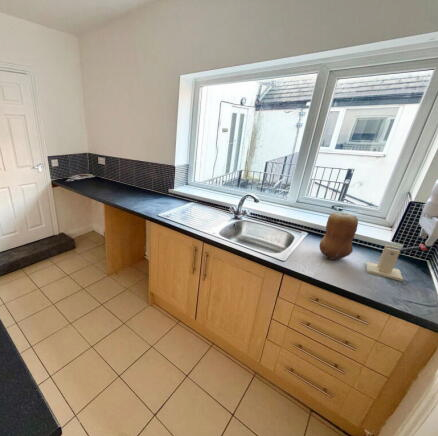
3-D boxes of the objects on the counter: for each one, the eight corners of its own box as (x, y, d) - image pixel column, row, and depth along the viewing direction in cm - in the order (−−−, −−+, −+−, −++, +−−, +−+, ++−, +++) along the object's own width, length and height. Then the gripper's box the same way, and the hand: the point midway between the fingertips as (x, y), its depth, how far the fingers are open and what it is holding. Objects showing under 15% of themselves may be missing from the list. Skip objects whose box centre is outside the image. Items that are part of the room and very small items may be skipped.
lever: (424, 247, 106) (422, 242, 106) (427, 251, 103) (425, 246, 103) (387, 252, 114) (385, 247, 114) (388, 256, 111) (387, 251, 111)
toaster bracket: (398, 271, 116) (408, 247, 111) (402, 281, 108) (413, 256, 104) (365, 263, 122) (374, 240, 118) (367, 272, 115) (376, 248, 110)
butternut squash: (323, 248, 136) (337, 207, 126) (352, 259, 125) (369, 215, 116) (311, 256, 129) (324, 212, 119) (340, 268, 119) (357, 221, 109)
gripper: (460, 219, 90) (443, 252, 94) (443, 206, 105) (429, 235, 110) (435, 215, 93) (420, 247, 98) (422, 203, 108) (409, 232, 113)
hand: (425, 241), depth 104 cm, fingers open, 8 cm apart
